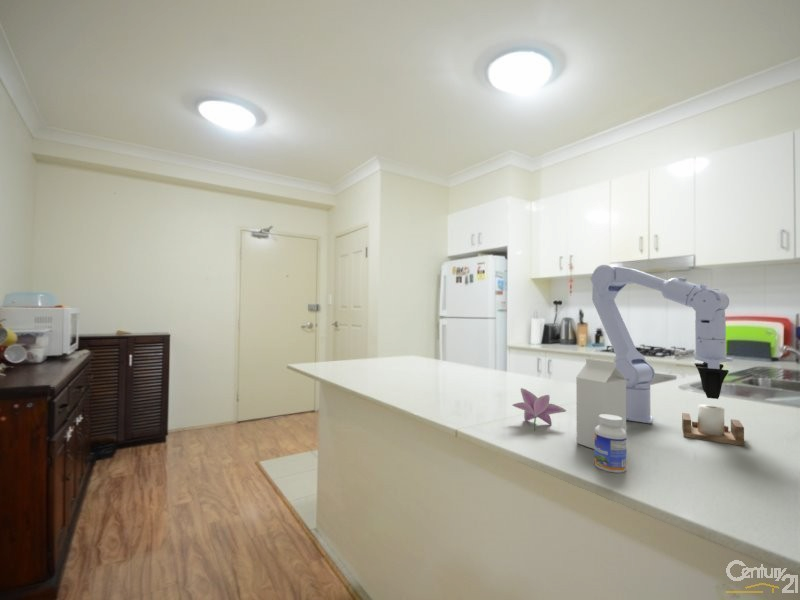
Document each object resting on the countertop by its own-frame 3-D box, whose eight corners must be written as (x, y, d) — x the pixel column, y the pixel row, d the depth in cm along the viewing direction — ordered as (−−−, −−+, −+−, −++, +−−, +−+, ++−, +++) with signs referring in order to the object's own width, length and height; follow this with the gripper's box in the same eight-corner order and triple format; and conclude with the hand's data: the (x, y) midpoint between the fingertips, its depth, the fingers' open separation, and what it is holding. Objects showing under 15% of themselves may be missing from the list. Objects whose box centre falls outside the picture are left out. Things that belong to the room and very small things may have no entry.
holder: (683, 436, 92) (683, 419, 92) (682, 428, 99) (682, 412, 99) (744, 446, 86) (744, 428, 86) (738, 436, 93) (738, 419, 93)
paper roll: (699, 433, 92) (699, 407, 92) (696, 427, 96) (696, 403, 96) (726, 437, 89) (726, 410, 89) (721, 431, 93) (721, 406, 94)
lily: (572, 436, 95) (570, 398, 100) (542, 424, 90) (541, 384, 94) (531, 439, 104) (531, 404, 109) (502, 427, 99) (503, 391, 103)
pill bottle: (588, 462, 76) (588, 412, 76) (614, 461, 77) (614, 412, 77) (605, 474, 71) (605, 421, 71) (633, 473, 71) (633, 420, 71)
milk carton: (605, 454, 81) (605, 363, 81) (576, 443, 87) (576, 359, 87) (626, 448, 84) (626, 361, 84) (596, 438, 90) (596, 357, 91)
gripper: (736, 341, 85) (737, 403, 84) (727, 337, 97) (728, 392, 96) (696, 340, 89) (697, 399, 88) (692, 336, 101) (692, 388, 100)
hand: (710, 395), depth 93 cm, fingers open, 7 cm apart
